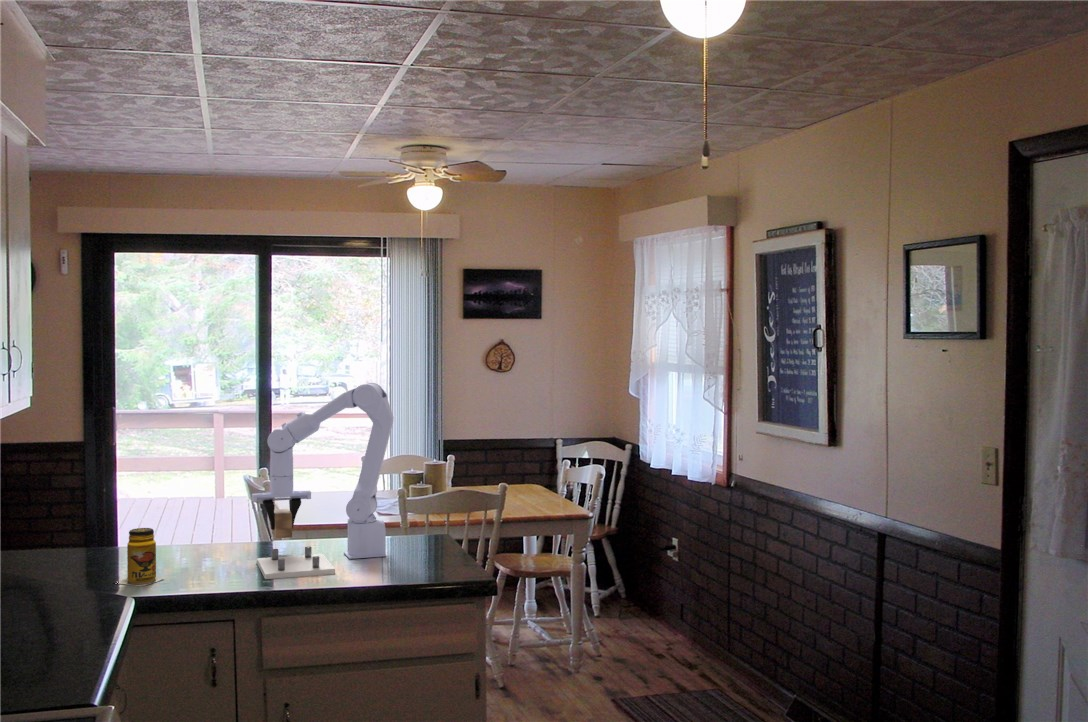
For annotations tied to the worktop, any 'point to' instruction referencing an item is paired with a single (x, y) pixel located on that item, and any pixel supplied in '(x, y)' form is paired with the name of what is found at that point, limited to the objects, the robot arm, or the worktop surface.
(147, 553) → the condiment
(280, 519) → the walnut block
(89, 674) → the worktop surface
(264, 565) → the plate
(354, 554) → the robot arm
